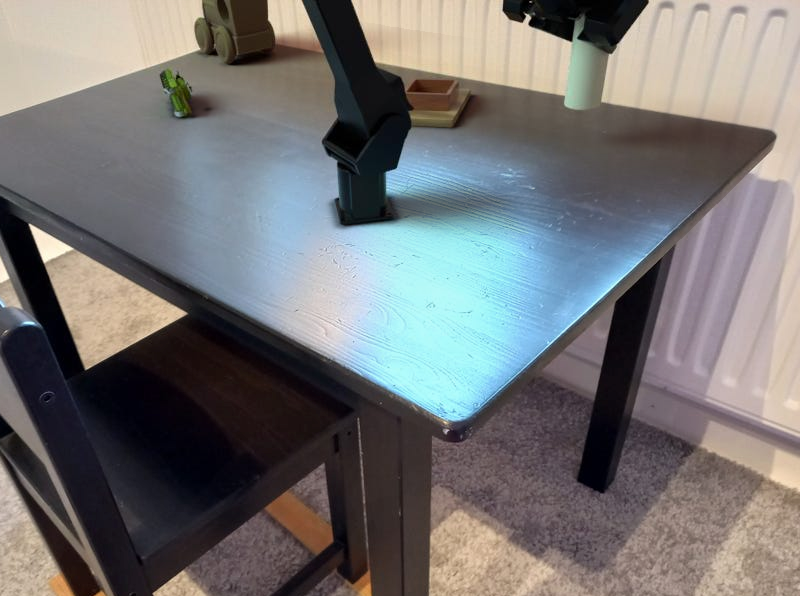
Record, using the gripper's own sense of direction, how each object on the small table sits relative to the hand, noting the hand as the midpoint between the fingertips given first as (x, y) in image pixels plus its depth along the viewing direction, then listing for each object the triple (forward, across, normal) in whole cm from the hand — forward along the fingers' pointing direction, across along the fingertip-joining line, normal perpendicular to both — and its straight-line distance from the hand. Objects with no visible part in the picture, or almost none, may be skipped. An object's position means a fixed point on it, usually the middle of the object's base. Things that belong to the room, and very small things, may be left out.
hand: (598, 46), depth 89 cm
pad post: (+4, 0, +6) cm, 7 cm away
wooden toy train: (-6, +77, +23) cm, 81 cm away
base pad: (+2, +24, +15) cm, 28 cm away
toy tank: (-19, +56, +36) cm, 69 cm away
